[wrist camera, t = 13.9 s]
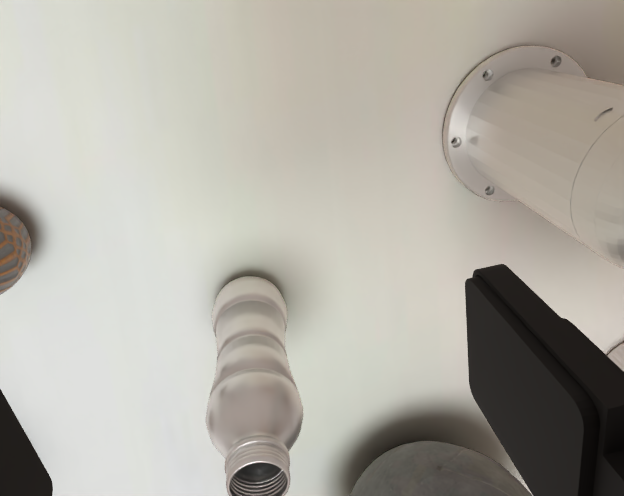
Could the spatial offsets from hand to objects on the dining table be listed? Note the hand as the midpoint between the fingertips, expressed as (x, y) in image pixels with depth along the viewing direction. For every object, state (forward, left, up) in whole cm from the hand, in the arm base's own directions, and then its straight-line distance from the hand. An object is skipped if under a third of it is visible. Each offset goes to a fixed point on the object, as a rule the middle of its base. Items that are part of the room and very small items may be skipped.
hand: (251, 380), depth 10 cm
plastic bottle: (+3, +17, -32) cm, 37 cm away
